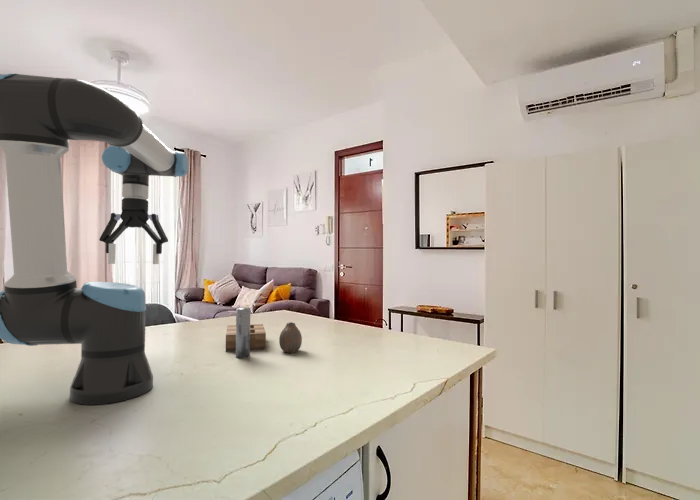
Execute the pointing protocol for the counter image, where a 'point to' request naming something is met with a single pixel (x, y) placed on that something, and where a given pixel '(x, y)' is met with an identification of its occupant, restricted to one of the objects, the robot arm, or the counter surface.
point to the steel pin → (242, 332)
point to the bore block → (255, 337)
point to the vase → (290, 338)
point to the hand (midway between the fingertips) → (133, 264)
